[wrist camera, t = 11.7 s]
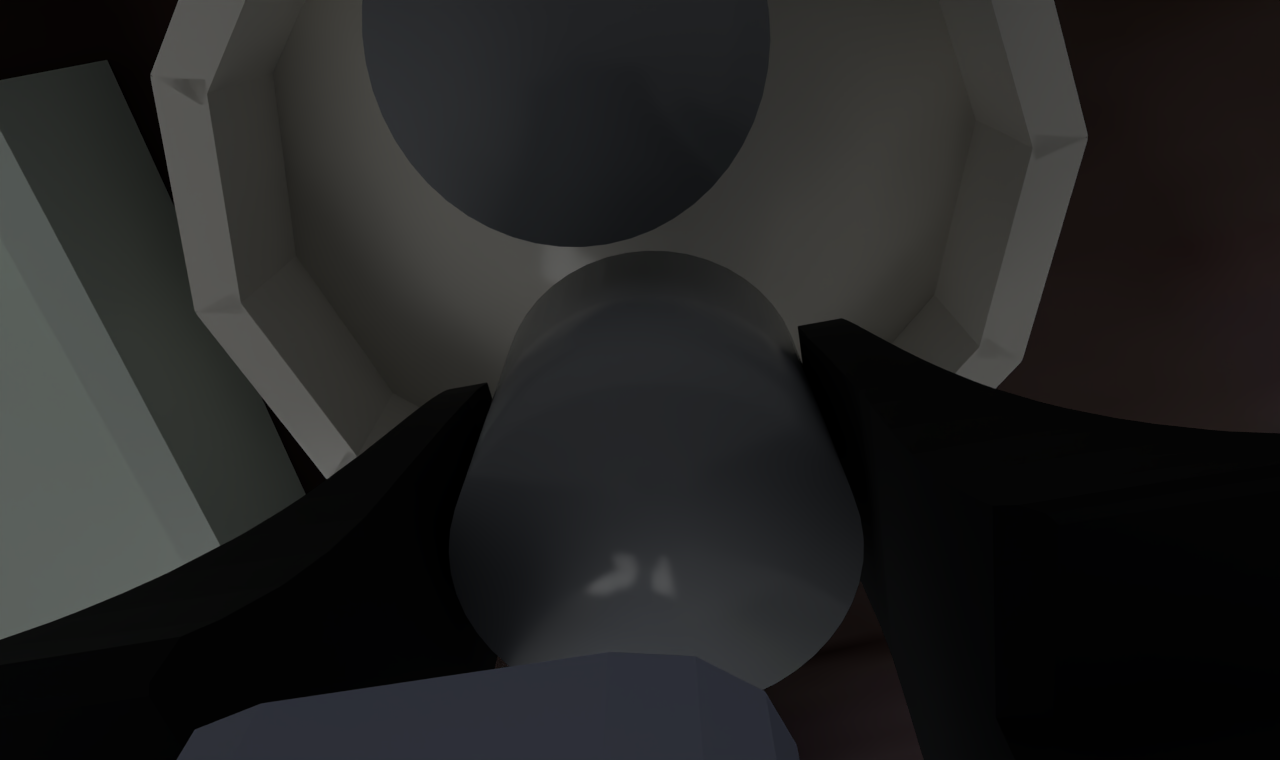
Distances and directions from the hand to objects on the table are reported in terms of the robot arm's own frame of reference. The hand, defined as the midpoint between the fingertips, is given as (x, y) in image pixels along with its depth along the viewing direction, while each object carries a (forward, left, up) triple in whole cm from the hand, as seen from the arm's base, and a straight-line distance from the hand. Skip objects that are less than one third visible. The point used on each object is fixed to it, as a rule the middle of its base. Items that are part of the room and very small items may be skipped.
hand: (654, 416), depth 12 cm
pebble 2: (0, 0, -1) cm, 1 cm away
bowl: (+2, -2, -4) cm, 5 cm away
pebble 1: (+4, -4, -3) cm, 6 cm away
